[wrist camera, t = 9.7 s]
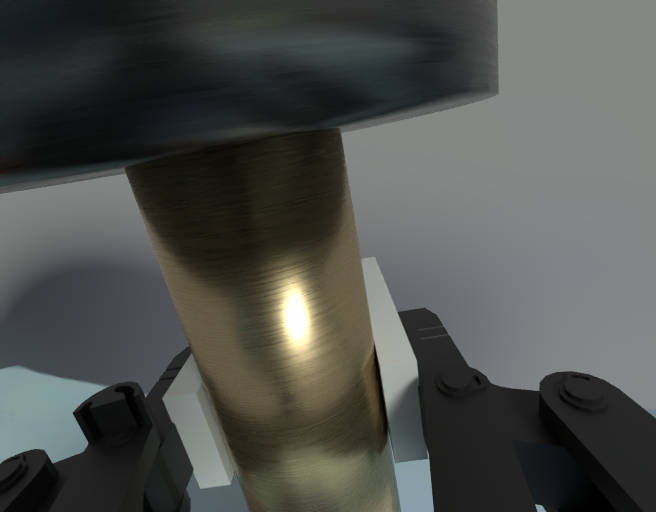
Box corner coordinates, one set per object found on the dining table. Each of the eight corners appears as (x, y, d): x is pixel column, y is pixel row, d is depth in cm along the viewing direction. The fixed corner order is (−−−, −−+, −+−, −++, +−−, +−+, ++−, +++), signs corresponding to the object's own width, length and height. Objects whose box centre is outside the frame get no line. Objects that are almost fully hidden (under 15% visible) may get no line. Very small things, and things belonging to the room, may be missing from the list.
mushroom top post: (447, 483, 16) (408, 62, 10) (592, 899, 7) (882, -413, 1) (259, 507, 16) (123, 120, 10) (181, 921, 8) (-764, 24, 2)
